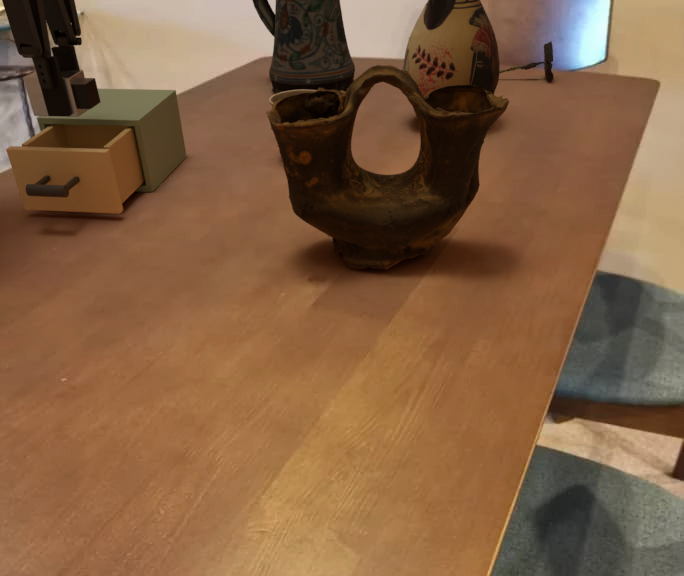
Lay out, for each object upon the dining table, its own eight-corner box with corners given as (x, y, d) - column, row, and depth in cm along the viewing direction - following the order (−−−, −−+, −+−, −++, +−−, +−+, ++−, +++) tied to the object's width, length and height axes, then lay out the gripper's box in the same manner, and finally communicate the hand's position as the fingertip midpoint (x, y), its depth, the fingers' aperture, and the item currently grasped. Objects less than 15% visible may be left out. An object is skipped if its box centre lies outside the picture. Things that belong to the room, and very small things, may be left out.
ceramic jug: (448, 105, 130) (461, -106, 110) (512, 125, 120) (540, -102, 101) (374, 125, 122) (375, -98, 102) (438, 148, 113) (452, -93, 93)
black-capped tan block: (33, 116, 90) (22, 77, 88) (49, 106, 93) (38, 69, 91) (90, 117, 89) (81, 78, 86) (103, 107, 92) (95, 69, 89)
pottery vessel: (484, 232, 89) (504, 52, 76) (496, 273, 81) (520, 79, 68) (282, 235, 90) (267, 57, 77) (273, 276, 82) (255, 84, 69)
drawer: (104, 229, 90) (88, 166, 85) (6, 225, 92) (-16, 162, 87) (156, 176, 104) (145, 118, 99) (70, 173, 106) (55, 116, 101)
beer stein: (354, 99, 134) (351, -67, 118) (250, 101, 135) (233, -63, 118) (356, 76, 146) (354, -77, 130) (261, 78, 147) (247, -74, 131)
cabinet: (152, 192, 102) (138, 120, 96) (56, 188, 104) (36, 117, 98) (186, 156, 113) (175, 89, 106) (98, 154, 115) (83, 88, 108)
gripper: (-3, -125, 69) (65, 132, 84) (76, -134, 82) (123, 91, 97) (-74, -123, 70) (6, 130, 85) (15, -132, 83) (71, 90, 98)
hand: (68, 109), depth 91 cm, fingers closed on black-capped tan block, 4 cm apart
